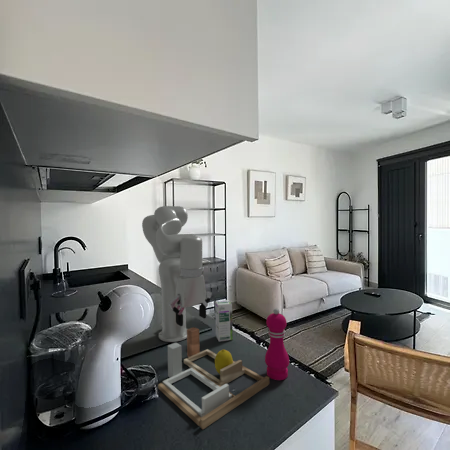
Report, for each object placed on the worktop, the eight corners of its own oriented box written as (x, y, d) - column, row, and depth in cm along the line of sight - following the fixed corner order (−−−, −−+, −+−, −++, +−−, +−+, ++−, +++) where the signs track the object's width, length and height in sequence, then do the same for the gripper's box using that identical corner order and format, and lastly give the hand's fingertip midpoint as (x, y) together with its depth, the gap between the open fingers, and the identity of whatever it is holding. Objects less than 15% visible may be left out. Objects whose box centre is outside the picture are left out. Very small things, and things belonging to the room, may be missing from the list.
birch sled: (178, 359, 90) (178, 332, 89) (202, 349, 96) (201, 324, 96) (220, 387, 74) (219, 354, 74) (244, 373, 81) (244, 343, 81)
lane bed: (158, 388, 75) (158, 381, 75) (221, 358, 91) (221, 352, 91) (202, 429, 60) (202, 420, 60) (269, 384, 76) (269, 377, 76)
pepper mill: (265, 367, 85) (264, 304, 84) (288, 368, 83) (287, 305, 83) (265, 380, 77) (263, 312, 77) (290, 382, 76) (289, 313, 76)
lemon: (217, 383, 77) (217, 355, 77) (212, 372, 82) (212, 346, 82) (235, 379, 78) (235, 352, 78) (230, 369, 84) (229, 344, 84)
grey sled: (157, 380, 78) (156, 349, 78) (186, 367, 85) (185, 338, 84) (201, 419, 62) (200, 380, 62) (232, 399, 69) (231, 364, 69)
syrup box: (218, 342, 103) (217, 304, 103) (215, 335, 108) (214, 300, 108) (232, 340, 104) (232, 303, 104) (229, 334, 110) (228, 299, 110)
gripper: (204, 267, 100) (204, 311, 101) (163, 274, 89) (163, 324, 90) (217, 270, 95) (217, 317, 96) (175, 278, 83) (175, 332, 84)
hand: (191, 320), depth 93 cm, fingers open, 9 cm apart
